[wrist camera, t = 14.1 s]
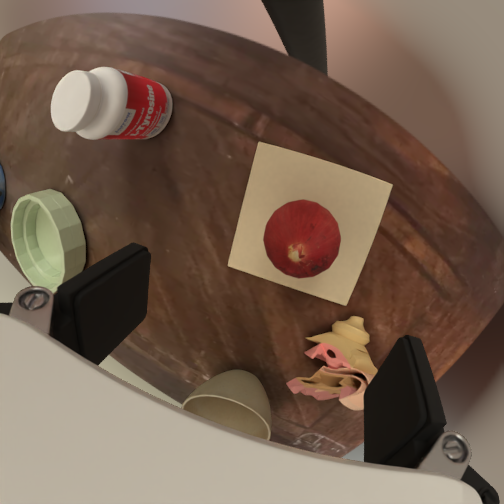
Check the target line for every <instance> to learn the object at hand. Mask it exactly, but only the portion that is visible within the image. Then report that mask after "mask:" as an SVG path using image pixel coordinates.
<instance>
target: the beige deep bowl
mask: <svg viewBox="0 0 504 504" xmlns="http://www.w3.org/2000/svg"><path fill="white" fill-rule="evenodd" d="M181 409H183V410H186V411H188V412H190V413H193V414H195V415H198V416H200V417H203V418H205V419H208V420H210V421H213V422H215V423H218V424H221V425H223V426H226V427H229V428H232V429H234V430H237V431H240V432H243V433H246V434H249V435H252V436H255V437H259V438H262V439H265V440H268V441H269V439H270V435H271V423H272V422H271V409H270V404H269V400H268V397H267V394H266V392H265V389H264V387H263V385H262V384H261V382H260V381H259V379H258V378H257V377H256V376H255V375H253V374H251V373H249V372H247V371H244V370H238V369H237V370H230V371H226V372H223V373H221V374H218V375H216V376H214V377H213V378H211V379H209V380H207V381H206V382H204V383H203V384H202V385H200V386H199V387H198V388H197V389H196V390H195V391H193V392H192V393H191V394H190V395H189V397H188V398H187V399H186V400H185V401H184V403H183V405H182V408H181Z"/></svg>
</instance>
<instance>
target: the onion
mask: <svg viewBox="0 0 504 504" xmlns="http://www.w3.org/2000/svg"><path fill="white" fill-rule="evenodd" d="M263 241H264V246H265V250H266V254H267V256H268V258H269V259H270V261H271V262H272V264H273V265H274V267H275V268H277V269H278V270H280V271H281V272H282V273H284V274H285V275H288V276H291V277H295V278H298V279H300V278H308V277H314V276H316V275H318V274H320V273H322V272H324V271H325V270H327V269H329V268H330V266H331V265H332V263H333V262H334V260H335V259H336V258H337V256H338V254H339V248H340V242H341V235H340V231H339V226H338V223H337V221H336V220H335V218H334V217H333V215H332V214H331V213H330V211H329V210H327V209H326V208H324V207H323V206H321V205H320V204H318V203H317V202H313V201H309V200H304V199H301V200H296V201H291V202H288V203H286V204H284V205H283V206H281V207H280V208H278V209H277V210H275V211H274V213H273V214H272V216H271V217H270V219H269V220H268V222H267V224H266V227H265V232H264V237H263Z"/></svg>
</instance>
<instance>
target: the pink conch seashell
mask: <svg viewBox="0 0 504 504" xmlns="http://www.w3.org/2000/svg"><path fill="white" fill-rule="evenodd" d="M363 322H364V319H363V318H360V317H356V316H351V317H350V318H349V319H348V320H346V321H336V323H334V324H333V325H332V332H327V333H323V334H320V335H316V336H313V337H308V338H306V339H308V340H311V341H313V342H315V343H318V345H317V346H315V347H313V348H311V349H309V350H307V351H305V352H304V353H305V354H306V355H307V356H309V357H310V358H312V359H313V358H314V357H316V358H318V359H321V360H323V361H326V363H327V365H328V367H325V366H323V367H322V368H321V369H319V370H318V371H317V372H316V373H315V374H314V375H313V376H312V377H310V378H302V377H296V378H294V379H292V380H291V381H289V382H287V383H286V384H287V386H288V387H289V389H290V390H291V391H292V392H293V393H294V394H296V393H298V392H299V391H301V393H303V394H304V395H311V396H313V397H314V398H316V399H317V400H326V399H331V398H335V397H339V401H340V402H341V403H342V404H343V405H345V406H346V407H348V408H349V409H352V410H362V409H364V400H363V396H364V392H365V389H366V388H367V386H368V385H369V383H370V382H371V380H372V379H373V378H374V376H375V375H376V373H377V372H378V370H377V369H376V368H375V367H374V365H373V363H372V361H371V359H370V356H369V354H368V352H367V350H366V348H365V347H364V346H365V345H366V344H367V343H368V342H369V336H370V335H369V334H368V333H367V332H366V331H365V329H364V327H363Z"/></svg>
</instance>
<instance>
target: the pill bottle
mask: <svg viewBox="0 0 504 504" xmlns="http://www.w3.org/2000/svg"><path fill="white" fill-rule="evenodd" d="M172 105H173V104H172V97H171V94H170V92H169V91H168V89H167V88H166V87H165V86H164V85H162V84H161V83H159V82H156V81H154V80H151V79H147V78H144V77H141V76H138V75H135V74H132V73H128V72H125V71H122V70H118V69H115V68H110V67H99V68H96V69H93V70H91V71H90V72H86V71H80V70H75V71H72V72H70V73H68V74H67V75H65V76H64V77H63V78H62V79H61V81H60V82H59V83H58V85H57V87H56V89H55V91H54V94H53V97H52V102H51V116H52V120H53V123H54V125H55V126H56V127H57V128H58V129H59V130H61V131H72V132H77V134H79V135H80V136H81V137H83V138H86V139H94V140H100V139H148V138H151V137H154V136H156V135H157V134H159V133H160V132H161V131H162V130H163V129H164V128H165V126H166V125H167V123H168V121H169V119H170V117H171V113H172Z"/></svg>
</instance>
